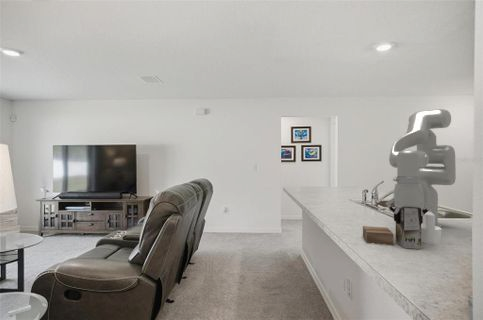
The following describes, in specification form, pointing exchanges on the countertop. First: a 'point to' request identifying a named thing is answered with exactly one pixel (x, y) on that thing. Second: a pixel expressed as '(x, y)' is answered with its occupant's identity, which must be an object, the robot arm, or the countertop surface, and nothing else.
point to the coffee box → (409, 228)
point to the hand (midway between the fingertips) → (407, 223)
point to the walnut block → (378, 235)
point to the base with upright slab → (430, 230)
